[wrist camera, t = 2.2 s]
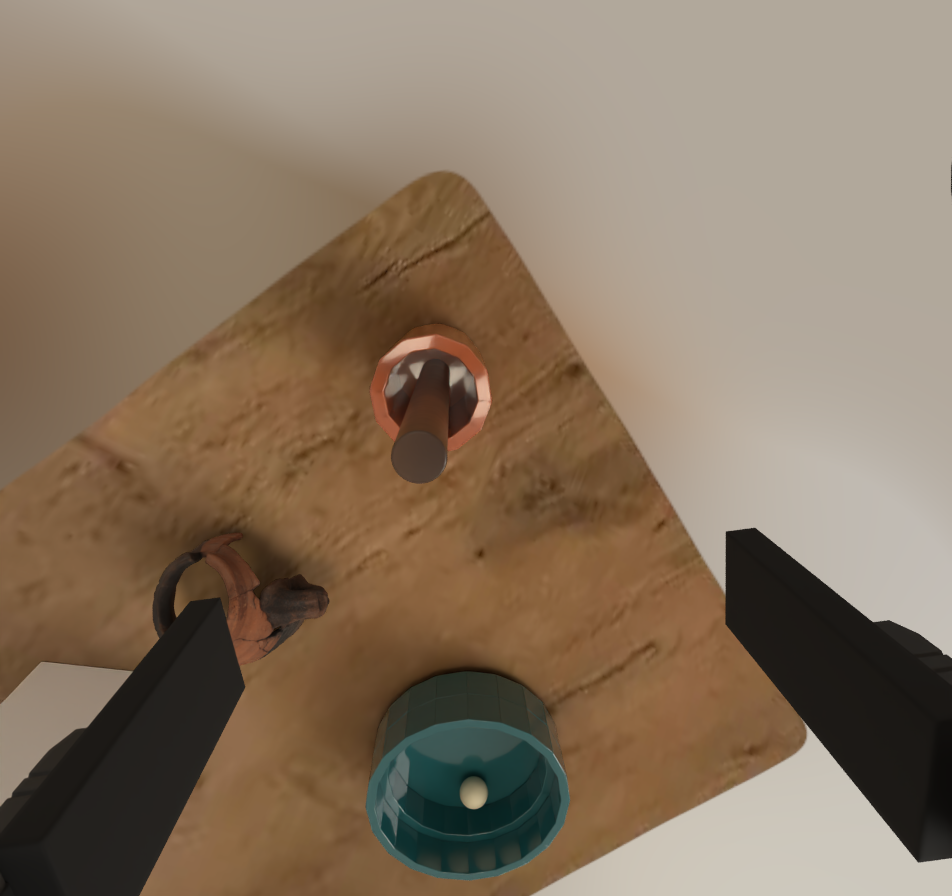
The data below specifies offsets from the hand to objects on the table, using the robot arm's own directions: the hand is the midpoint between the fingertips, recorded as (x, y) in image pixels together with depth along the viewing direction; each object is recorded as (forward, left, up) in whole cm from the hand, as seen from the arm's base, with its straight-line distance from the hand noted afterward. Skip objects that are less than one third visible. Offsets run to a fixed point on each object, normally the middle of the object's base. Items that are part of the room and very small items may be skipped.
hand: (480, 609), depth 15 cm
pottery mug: (+17, +12, -27) cm, 34 cm away
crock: (+1, -2, -27) cm, 27 cm away
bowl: (+4, +30, -27) cm, 40 cm away
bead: (+4, +33, -26) cm, 43 cm away
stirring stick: (+1, -2, -26) cm, 27 cm away
